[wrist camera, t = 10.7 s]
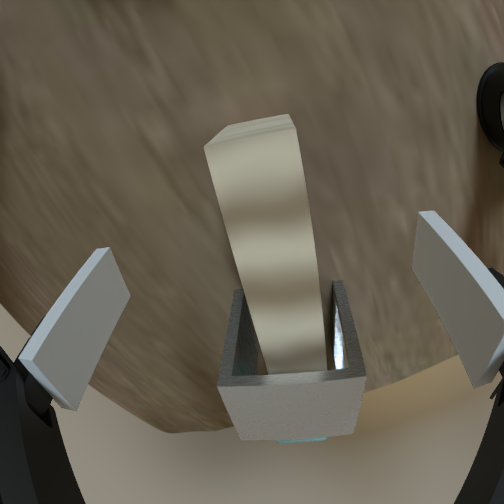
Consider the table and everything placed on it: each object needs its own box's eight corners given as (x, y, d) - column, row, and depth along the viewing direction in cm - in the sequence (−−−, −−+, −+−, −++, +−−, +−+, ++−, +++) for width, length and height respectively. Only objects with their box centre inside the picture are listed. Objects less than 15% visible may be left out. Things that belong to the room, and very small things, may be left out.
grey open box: (340, 346, 35) (353, 433, 25) (249, 353, 37) (240, 440, 26) (342, 280, 30) (366, 376, 20) (234, 290, 32) (216, 386, 21)
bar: (320, 321, 34) (328, 386, 26) (275, 327, 34) (274, 392, 27) (288, 113, 23) (295, 128, 15) (227, 125, 24) (203, 147, 16)
